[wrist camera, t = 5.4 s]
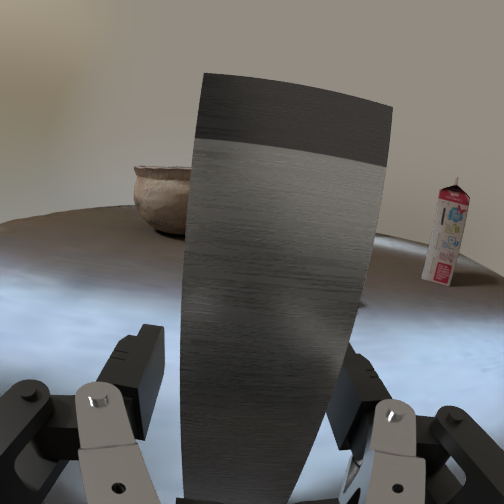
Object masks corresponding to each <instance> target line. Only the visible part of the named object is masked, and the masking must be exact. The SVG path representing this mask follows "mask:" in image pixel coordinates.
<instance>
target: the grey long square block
mask: <svg viewBox="0 0 504 504" xmlns="http://www.w3.org/2000/svg"><path fill="white" fill-rule="evenodd" d="M392 112H393V107H391V106H387V105H384V104H380V103H377V102H373V101H370V100H366V99H362V98H358V97H355V96H350V95H346V94H342V93H338V92H333V91H329V90H324V89H320V88H315V87H310V86H304V85H299V84H293V83H288V82H281V81H275V80H267V79H261V78H253V77H244V76H234V75H224V74H212V73H204V76H203V82H202V89H201V97H200V103H199V110H198V117H197V125H196V133H195V141H194V149H193V158H192V167H191V176H190V186H189V197H188V208H187V220H186V232H185V247H184V262H183V280H182V302H181V334H180V424H181V453H182V473H183V489H184V499H193V500H203V501H214V502H221V503H224V504H287V502H288V500H289V498H290V496H291V494H292V492H293V489H294V487H295V485H296V483H297V481H298V479H299V476H300V474H301V472H302V470H303V467H304V465H305V463H306V460H307V458H308V456H309V453H310V451H311V448H312V446H313V443H314V441H315V438H316V436H317V433H318V431H319V428H320V426H321V423H322V420H323V418H324V415H325V412H326V410H327V407H328V404H329V401H330V398H331V396H332V393H333V390H334V387H335V384H336V381H337V378H338V375H339V372H340V369H341V366H342V363H343V359H344V356H345V353H346V350H347V346H348V343H349V340H350V336H351V333H352V329H353V326H354V322H355V318H356V315H357V311H358V307H359V303H360V299H361V296H362V292H363V287H364V283H365V279H366V275H367V271H368V266H369V262H370V257H371V252H372V248H373V243H374V238H375V233H376V227H377V222H378V216H379V211H380V205H381V199H382V193H383V187H384V179H385V174H386V166H387V159H388V151H389V142H390V133H391V123H392Z"/></svg>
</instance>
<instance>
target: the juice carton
mask: <svg viewBox="0 0 504 504" xmlns="http://www.w3.org/2000/svg"><path fill="white" fill-rule="evenodd" d="M457 184H458V178H456V179H455V184H454V186H450V187H447V188H443V189H441V190H440V192H439V197H438V203H437V209H436V214H435V220H434V225H433V230H432V234H431V239H430V244H429V248H428V252H427V256H426V261H425V265H424V268H423V273H422V278H421V279H425V280H428V281H432V282H435V283H439V284H442V285H446V286H449V287H450V284H451V280H452V277H453V273H454V270H455V266H456V262H457V258H458V254H459V250H460V246H461V241H462V237H463V232H464V227H465V222H466V217H467V212H468V206H469V200H470V197H469V196H468V195H467V194H466V193H465V192H464V191H463V190H462V189H461V188H460V187H459V186H458V185H457Z"/></svg>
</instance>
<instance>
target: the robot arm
mask: <svg viewBox="0 0 504 504" xmlns="http://www.w3.org/2000/svg"><path fill="white" fill-rule="evenodd" d="M164 367H165V346H164V327H163V326H156V325H148V324H143V325H142V327H141V329H140V331H139V333H138V335H137V336H132V335H128V336H126V337H125V338H123V339H122V340H120V341H119V342H118V344H117V345H116V347H115V349H114V352H112V354H111V356H110V358H109V359H108V361H107V363H106V364H105V366H104V368H103V370H102V371H101V373H100V375H99V377H98V378H97V380H96V382H91V383H88V384H85V385H83V386H82V387H81V388H79V389H78V391H77V392H76V395H50V392H49V389H48V387H47V386H46V385H45V384H44V383H42V382H40V381H38V380H23V381H20V382H18V383H16V384H14V385H13V386H12V387H11V388H10V389H9V390H8V391H7V392H6V393H5V394H4V395H3V396H1V397H0V504H42V502H43V500H44V499H45V497H46V496H47V494H48V492H49V491H50V489H51V488H52V486H53V485H54V483H55V482H56V480H57V479H58V477H59V475H60V474H61V472H62V471H63V469H64V468H65V466H66V465H67V463H68V462H69V460H79V462H80V468H81V474H82V479H83V484H84V489H85V494H86V498H87V502H88V504H161V503H160V501H159V498H158V496H157V493H156V491H155V489H154V486H153V484H152V481H151V478H150V476H149V473H148V471H147V468H146V465H145V462H144V460H143V457H142V454H141V451H140V448H139V446H138V443H136V442H135V439H138V440H143V441H145V438H146V435H147V431H148V427H149V424H150V420H151V417H152V413H153V410H154V406H155V403H156V399H157V396H158V392H159V389H160V386H161V382H162V379H163V375H164ZM326 414H327V416H328V419H329V422H330V425H331V428H332V431H333V434H334V437H335V440H336V443H337V446H338V449H339V450H350V449H351V451H352V455H351V457H350V459H349V462H348V466H347V469H346V473H345V477H344V481H343V484H342V488H341V491H340V495H339V498H334V499H326V500H316V501H304V502H298V503H295V504H424V503H425V504H504V451H503V450H502V449H501V448H500V447H499V446H498V445H497V444H496V443H495V442H494V440H493V439H492V438H491V437H490V436H489V435H488V434H487V433H486V432H485V431H484V430H483V429H482V428H481V427H480V426H479V425H478V424H477V423H476V422H475V421H474V420H473V419H472V418H471V417H470V416H469V415H468V414H467V413H466V412H465V411H464V410H462V409H460V408H458V407H455V406H443V407H441V408H440V409H439V410H438V412H437V414H436V415H435V417H427V416H418V415H415V412H414V410H413V409H412V408H411V407H410V406H409V405H408V404H406V403H404V402H402V401H400V400H395V399H392V397H391V396H390V394H389V392H388V391H387V389H386V387H385V386H384V384H383V382H382V381H381V379H380V378H379V376H378V374H377V373H376V371H374V368H373V366H372V365H371V363H370V361H369V360H367V359H366V358H365V357H363V356H362V355H361V354H356V353H355V351H354V350H353V348H352V346H351V345H350V343H348V346H347V350H346V353H345V356H344V359H343V363H342V366H341V369H340V372H339V375H338V378H337V381H336V384H335V387H334V390H333V393H332V396H331V398H330V401H329V404H328V407H327V410H326ZM450 456H452V457H453V459H454V460H455V461H456V462H457V464H458V465H459V466H460V467H461V468H462V470H463V471H464V472H465V474H466V482H465V485H464V486H462V485H461V484H460V483H459V481H458V480H457V479H456V477H455V476H454V475H453V474H452V472H451V471H450V470H449V469H448V467H447V466H446V465H445V463H446V461H447V460H448V459H449V457H450ZM176 504H224V503H221V502H214V501H203V500H193V499H184V498H177V497H176Z"/></svg>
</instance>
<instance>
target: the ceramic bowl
mask: <svg viewBox="0 0 504 504" xmlns="http://www.w3.org/2000/svg"><path fill="white" fill-rule="evenodd" d="M134 170H135V173H136V175H137V180H136V184H135V188H134V202H135V205H136V207H137V209H138V210H139V212H140V214H141V216H142V217H143V219H145V220H146V221H147V222H148V224H149V225H151V226H152V227H153V228H155V229H157V230H159V231H162V232H166V233H171V234H180V235H185V232H186V220H187V208H188V197H189V186H190V176H191V167H156V166H155V167H154V166H153V167H152V166H148V167H146V166H134Z"/></svg>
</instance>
